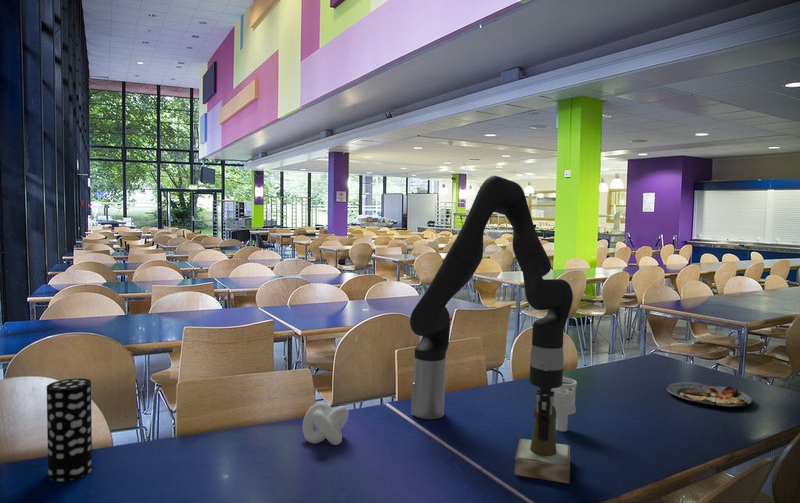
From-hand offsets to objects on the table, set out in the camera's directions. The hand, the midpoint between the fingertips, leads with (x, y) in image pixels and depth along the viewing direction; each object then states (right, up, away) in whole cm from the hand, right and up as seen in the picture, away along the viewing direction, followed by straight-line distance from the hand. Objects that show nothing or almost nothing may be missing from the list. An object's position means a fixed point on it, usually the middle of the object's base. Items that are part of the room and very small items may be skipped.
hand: (543, 435), depth 125 cm
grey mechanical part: (+11, -7, +24) cm, 27 cm away
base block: (0, -8, 0) cm, 8 cm away
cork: (0, -4, 0) cm, 4 cm away
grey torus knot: (-53, -6, +14) cm, 55 cm away
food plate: (+70, -7, +54) cm, 89 cm away
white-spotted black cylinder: (-107, -6, -7) cm, 108 cm away
